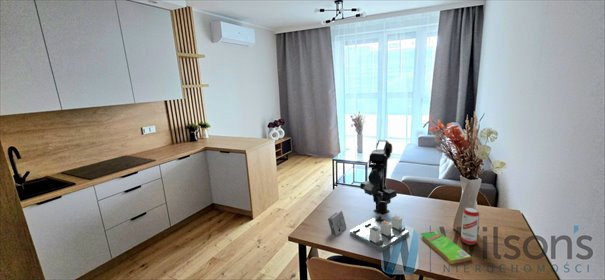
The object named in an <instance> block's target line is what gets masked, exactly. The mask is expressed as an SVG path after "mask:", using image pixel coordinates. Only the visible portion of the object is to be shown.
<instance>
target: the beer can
mask: <svg viewBox="0 0 605 280" xmlns="http://www.w3.org/2000/svg"><path fill="white" fill-rule="evenodd" d="M461 220H462V221H461V230H460V231H461V232H460V233H461V234H460V240H461V241H462V242H463V243H465V244H466V245H475V244H477V242H478V232H479V231H478V230H479V224H480V222H479V221H480V213H479V210H478V208H475V207H472V206H466V207H464V209H463V212H462V219H461Z"/></svg>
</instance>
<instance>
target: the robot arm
mask: <svg viewBox="0 0 605 280" xmlns="http://www.w3.org/2000/svg"><path fill="white" fill-rule="evenodd" d="M375 148H376V149H373V150H372V151H371V153H370V154H369V160H368V168H370V169H371V170H370V172H369V174H368V176H367V179H368V180H365V181H363V182H361V183H360V185H359V188H360V189H361V190H362V191H363V190H364V194H367V195H368V196H372V199H373V203H375V209H373V212H375V213H378V214H380V215H382V216H383V215H385V214H387V213H389V212H390V210H389V209H388V205H390V204H391V203H392V202H391V200H392V199H393V198H395V197H397V194H398V193H397V191H396V190H394V189H392V188H388V187H387V174H388V160H389V159H390V158H391V156H392V154H393V145H392V143H390V142H389V141H388V140H385V139H379V140H378V141H377V143H376V147H375Z"/></svg>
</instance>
